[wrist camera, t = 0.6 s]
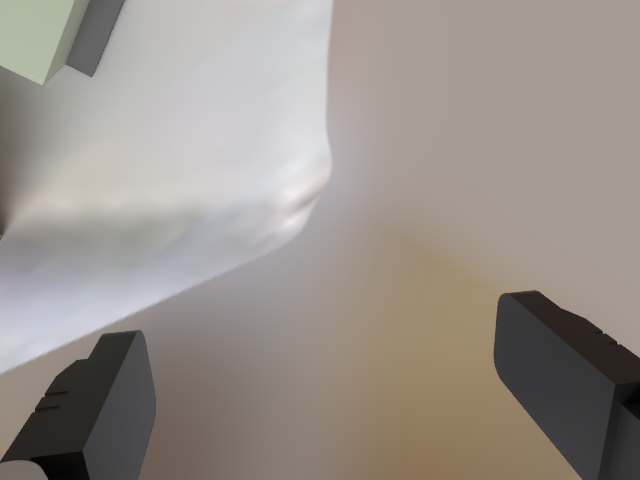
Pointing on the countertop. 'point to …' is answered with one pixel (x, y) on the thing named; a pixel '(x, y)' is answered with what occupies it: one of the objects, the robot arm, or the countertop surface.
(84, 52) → the build mat
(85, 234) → the countertop surface
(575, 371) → the robot arm
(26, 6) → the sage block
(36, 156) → the countertop surface
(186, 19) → the countertop surface
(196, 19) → the countertop surface
